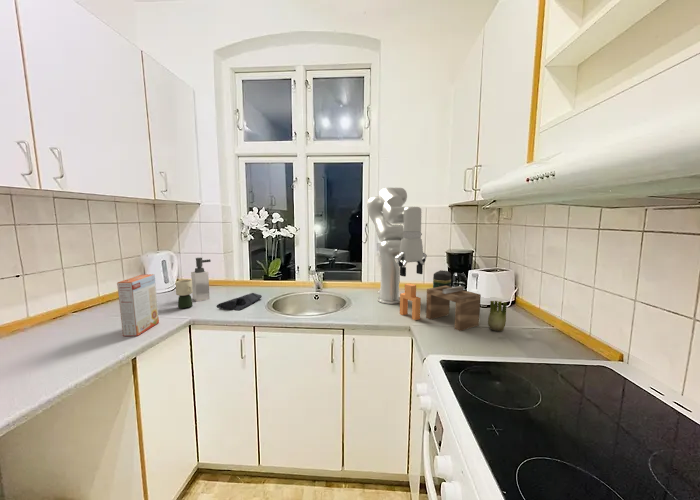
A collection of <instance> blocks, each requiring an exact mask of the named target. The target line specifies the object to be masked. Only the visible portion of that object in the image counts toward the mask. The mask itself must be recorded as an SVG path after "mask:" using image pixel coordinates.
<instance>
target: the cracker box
mask: <svg viewBox="0 0 700 500" xmlns="http://www.w3.org/2000/svg"><path fill="white" fill-rule="evenodd" d="M116 285H117V286H116V287H117V294H118V295H117V296H118V302H119V303H118V304H119V311H120V312H119V313H120V319H121V320H120V321H121V329H122V337H138V336H140V335H142V334H143V333H145V332H147V331H148V330H149V329H151V328H153V327H155V326H156V325H159V324H160V318H159V317H160V316H159V309H158V297H157V286H156V276H155V274H153V273H152V274H146V273H145V274H144V273H143V274H139V275H137V276H133V277H130V278H127V279H123V280H121V281H118V282H117V283H116ZM141 333H142V334H141Z"/></svg>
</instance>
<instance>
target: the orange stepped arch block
mask: <svg viewBox="0 0 700 500" xmlns="http://www.w3.org/2000/svg"><path fill="white" fill-rule="evenodd" d="M399 297H400V303H399V314H400V316H404V315H409V314H408V313H409V311H408V310H409V309H408V308H409V305H408V304H409V301H410V302H411V320H412V321H418V320H421V306H422V305H421V304H422V303H421V301H422V298H421V297H419V296H417V284H413V283H404V292H402V293H399Z"/></svg>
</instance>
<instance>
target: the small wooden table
mask: <svg viewBox="0 0 700 500" xmlns="http://www.w3.org/2000/svg"><path fill="white" fill-rule="evenodd" d="M451 302H454V303H455V309H454V310H455V311H454V313H455V314H454V330H456V331H459V332H461V331H465V330H469V329H471V328H474V327H478V326H480V316H481V315H480V311H481V294H480V293H476V292H472V291H468V290H464V286H461V285H459V286H458V285H457V286H451V287H450V286H441V287H435V288H433V287H431V288H427V289H426V303H425V304H426V308H425V310H426V311H425V318H426V319H428V320H433V319H438V318H441V317H445V316H446V317H447V316H449V315H450V308H449V306H450V305H451Z"/></svg>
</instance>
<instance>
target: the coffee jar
mask: <svg viewBox="0 0 700 500" xmlns="http://www.w3.org/2000/svg"><path fill="white" fill-rule="evenodd" d="M441 286H450V287H452V273H451V272H450V271H449V270H442V269H441V270H438V271H436V272H434V273H433V278H432V288H435V287H441ZM449 309H450V306H449Z"/></svg>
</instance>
